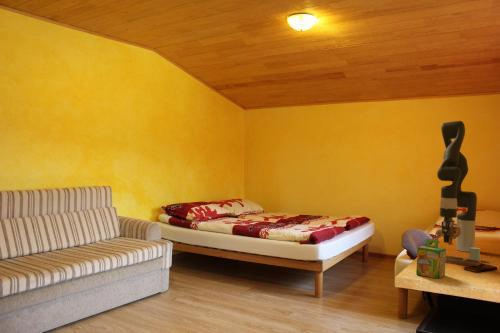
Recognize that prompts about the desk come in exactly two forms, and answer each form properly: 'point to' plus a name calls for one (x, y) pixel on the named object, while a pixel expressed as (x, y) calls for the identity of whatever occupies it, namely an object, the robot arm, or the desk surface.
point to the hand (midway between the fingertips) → (447, 241)
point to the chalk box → (431, 260)
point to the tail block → (474, 253)
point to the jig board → (462, 261)
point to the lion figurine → (452, 234)
